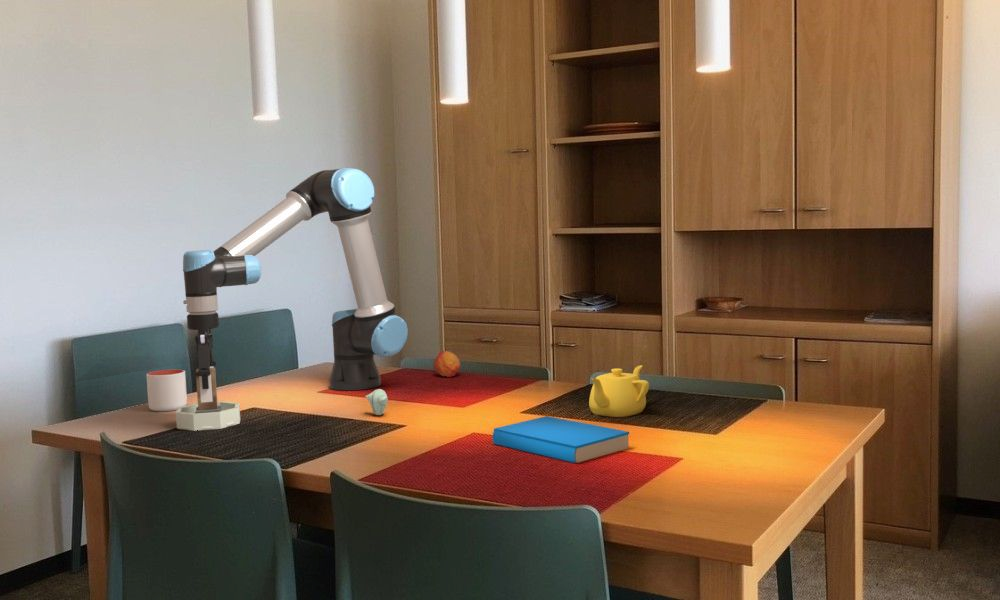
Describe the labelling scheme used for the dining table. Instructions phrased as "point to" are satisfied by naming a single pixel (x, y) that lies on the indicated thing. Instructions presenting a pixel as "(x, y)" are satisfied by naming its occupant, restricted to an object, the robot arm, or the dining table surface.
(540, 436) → the book
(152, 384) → the cup
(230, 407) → the octagonal tray
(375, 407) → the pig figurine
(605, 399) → the teapot
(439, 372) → the fruit
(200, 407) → the brown tall block
